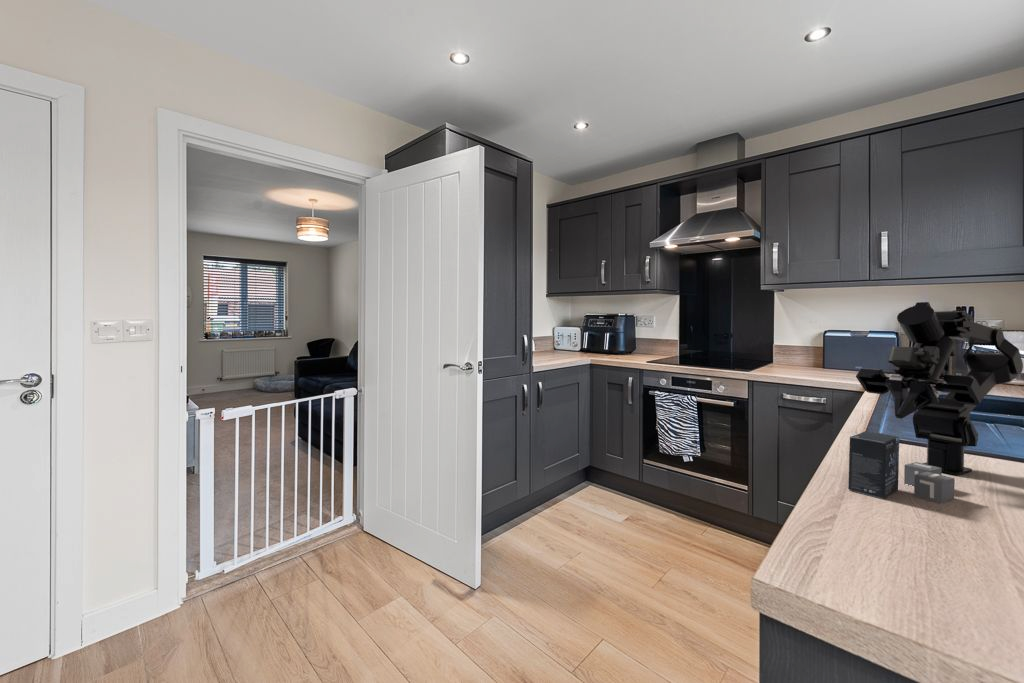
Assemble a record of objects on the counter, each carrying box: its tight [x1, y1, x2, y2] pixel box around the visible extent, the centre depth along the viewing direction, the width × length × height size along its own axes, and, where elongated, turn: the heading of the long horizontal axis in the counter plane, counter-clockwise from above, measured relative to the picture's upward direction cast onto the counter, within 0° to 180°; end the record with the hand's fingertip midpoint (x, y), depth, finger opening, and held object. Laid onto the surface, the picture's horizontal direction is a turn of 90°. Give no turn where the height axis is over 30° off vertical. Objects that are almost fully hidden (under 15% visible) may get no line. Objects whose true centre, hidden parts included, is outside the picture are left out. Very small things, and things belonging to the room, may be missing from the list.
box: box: [847, 430, 900, 500], centre depth 84 cm, size 8×6×11 cm
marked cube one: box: [903, 462, 943, 487], centre depth 86 cm, size 4×4×4 cm
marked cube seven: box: [913, 472, 955, 504], centre depth 80 cm, size 4×4×4 cm
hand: (898, 417), depth 87 cm, fingers closed
